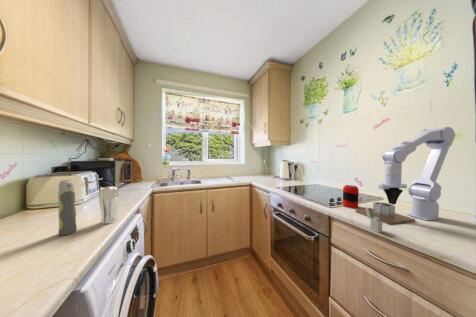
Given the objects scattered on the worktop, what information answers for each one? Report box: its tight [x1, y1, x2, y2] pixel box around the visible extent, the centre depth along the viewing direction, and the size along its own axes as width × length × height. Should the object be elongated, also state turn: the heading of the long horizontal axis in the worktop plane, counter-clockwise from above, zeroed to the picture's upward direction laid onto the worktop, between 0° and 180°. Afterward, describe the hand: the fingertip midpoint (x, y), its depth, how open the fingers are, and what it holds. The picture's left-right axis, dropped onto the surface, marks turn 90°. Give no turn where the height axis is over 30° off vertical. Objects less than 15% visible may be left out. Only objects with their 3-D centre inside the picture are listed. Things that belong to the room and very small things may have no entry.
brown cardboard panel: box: [355, 201, 416, 225], centre depth 85 cm, size 16×16×6 cm
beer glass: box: [98, 186, 120, 225], centre depth 77 cm, size 7×7×15 cm
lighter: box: [365, 207, 383, 234], centre depth 71 cm, size 7×2×8 cm, turn 179°
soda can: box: [342, 184, 360, 209], centre depth 101 cm, size 8×8×12 cm
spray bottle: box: [57, 179, 78, 236], centre depth 65 cm, size 5×5×20 cm
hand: (392, 203), depth 83 cm, fingers closed
